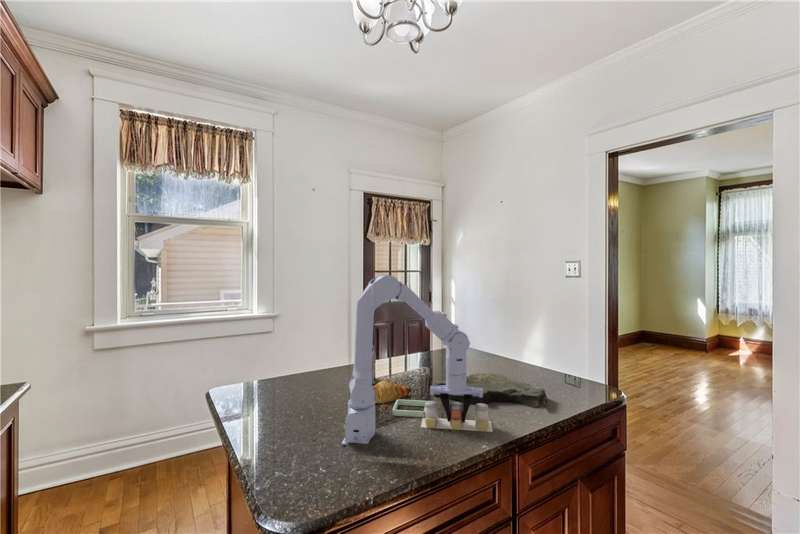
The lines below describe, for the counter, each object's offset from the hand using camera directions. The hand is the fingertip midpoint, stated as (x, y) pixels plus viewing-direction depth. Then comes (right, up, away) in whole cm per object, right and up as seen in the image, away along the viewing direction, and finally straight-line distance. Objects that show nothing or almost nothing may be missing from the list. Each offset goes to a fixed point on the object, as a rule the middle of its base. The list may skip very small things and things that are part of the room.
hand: (456, 420), depth 106 cm
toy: (-29, -2, +41) cm, 50 cm away
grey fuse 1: (-7, -1, +1) cm, 7 cm away
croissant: (-22, -2, +21) cm, 31 cm away
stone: (+14, -2, +23) cm, 27 cm away
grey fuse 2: (+7, -1, -1) cm, 7 cm away
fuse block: (0, -2, 0) cm, 2 cm away
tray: (-13, -2, +10) cm, 16 cm away
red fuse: (0, -1, 0) cm, 1 cm away
